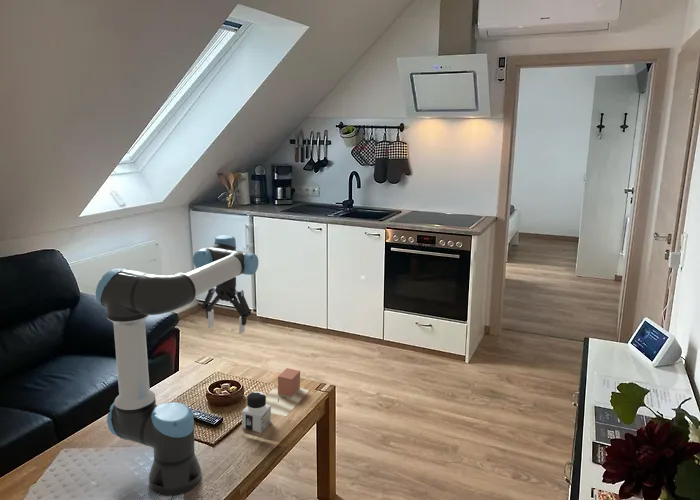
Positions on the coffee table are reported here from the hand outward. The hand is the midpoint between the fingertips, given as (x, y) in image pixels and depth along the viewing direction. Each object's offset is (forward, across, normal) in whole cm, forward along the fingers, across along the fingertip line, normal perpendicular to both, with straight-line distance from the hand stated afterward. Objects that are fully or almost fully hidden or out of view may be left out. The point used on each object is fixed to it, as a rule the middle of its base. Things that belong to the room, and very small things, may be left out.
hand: (226, 329), depth 205 cm
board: (+29, -21, -6) cm, 36 cm away
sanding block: (+28, -21, -12) cm, 37 cm away
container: (+29, -21, +14) cm, 38 cm away
